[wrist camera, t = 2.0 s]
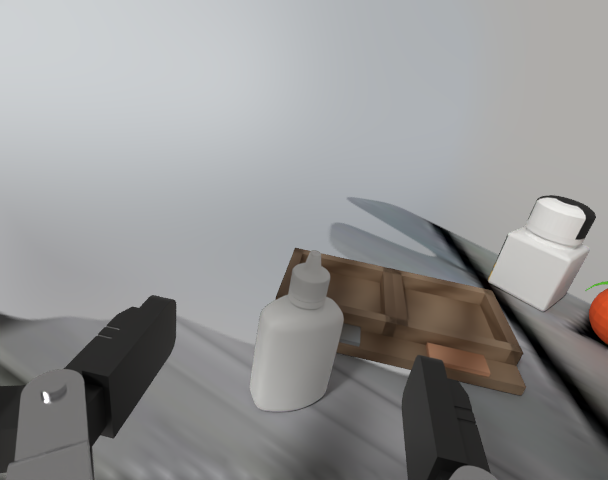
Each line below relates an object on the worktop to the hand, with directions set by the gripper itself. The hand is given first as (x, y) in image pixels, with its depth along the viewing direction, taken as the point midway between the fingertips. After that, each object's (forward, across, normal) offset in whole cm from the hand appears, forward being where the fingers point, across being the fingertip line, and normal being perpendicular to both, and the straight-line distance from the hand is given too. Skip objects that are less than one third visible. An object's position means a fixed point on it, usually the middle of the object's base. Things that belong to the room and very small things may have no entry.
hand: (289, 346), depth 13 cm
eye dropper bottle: (+12, 0, +14) cm, 19 cm away
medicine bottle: (+36, -26, +14) cm, 47 cm away
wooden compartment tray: (+24, -8, +14) cm, 29 cm away
